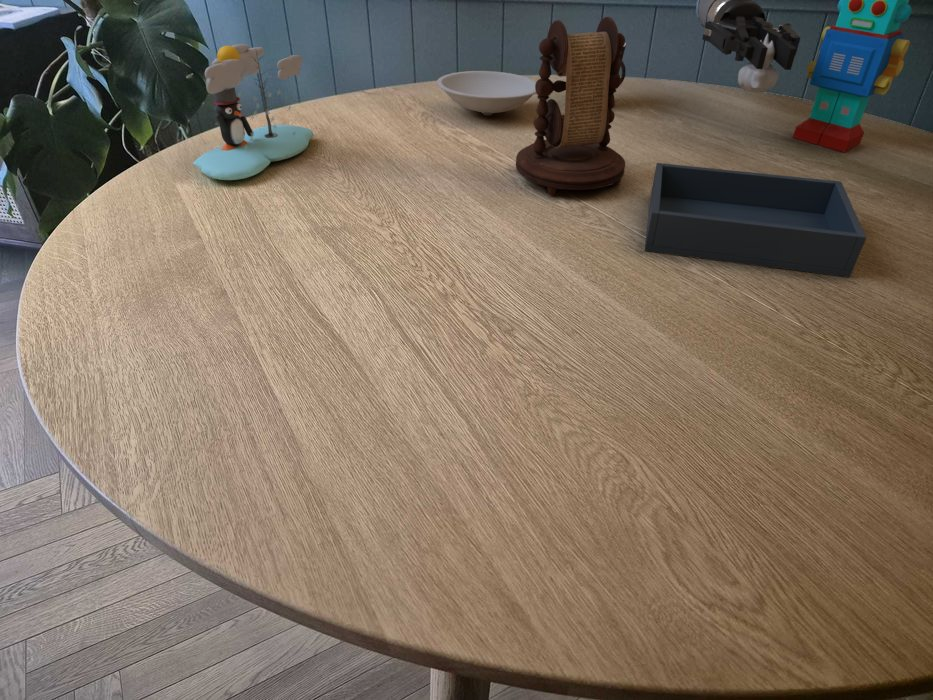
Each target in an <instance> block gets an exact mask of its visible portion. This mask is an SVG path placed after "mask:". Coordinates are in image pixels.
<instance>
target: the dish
mask: <svg viewBox="0 0 933 700" xmlns="http://www.w3.org/2000/svg"><path fill="white" fill-rule="evenodd" d="M536 82H537V80H535V79H532V78H530V77H527V76H523V75H520V74H516V73H510V72H505V71H495V70H494V71H493V70H492V71H491V70H468V71H457V72H452V73H448V74H444V75H442V76H440V77H439V78H438V79H437V81H436V85H437V87H438V88H440V89H441V90H443V91H444V92H445V93H446V95H447V96H448V97H449V98H450V99H451V100H452V101H453V102H454V103H456V104H457V105H459V106H461V107H462V108H464V109H467V110H469V111H473V112H479V113H482V115H484V116H492V115H493V114H499V113H505V112H510V111H512V110H515V109H518V108H520V107H521V106H522V105H524V104H525V103H526V102H527V101H529V100H530V99H531V98H532V97H533V96H534V95H537V93H536V91H535V84H536Z"/></svg>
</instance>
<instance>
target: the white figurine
mask: <svg viewBox="0 0 933 700" xmlns="http://www.w3.org/2000/svg"><path fill="white" fill-rule="evenodd" d="M760 42H761V43H762V40H760ZM763 44H764V45H765V46H766V47H767V48H768V50H767V54H766V57H765V61H764V65H763V69H756V68H755V67H754V66H753V65H752V64H751V63H750V62H748V63H747V64H746V65H744V66H742V67H741V68H740V69H739V70H738V73H737V74H738V75H737V83H738V85H739V87H742V89H743V90H744V91H747V92H749V93H762V92H763V93H764V92H767V91H768V90H769V89H772V88H774V87H775V86H776V84H777V82H778V79H779V72H778V70H777V68H776V67H774V65H772V63H773V61H774V55H775V48H774V44H773V41H771V42H770V43H768V34H767V35H766V37H765V40H764V42H763Z"/></svg>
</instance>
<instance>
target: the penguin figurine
mask: <svg viewBox="0 0 933 700" xmlns="http://www.w3.org/2000/svg"><path fill="white" fill-rule="evenodd" d="M264 54H265V50H264V47H262V46H257V47H249V45H248V44H247V43H237V44H233V45H223V46H222V47H220V48H219V49H218V51H217V55H216V56H217V57H216V58H215V59H214V60H213V61H212V62H211V65H210V66H208V67H206V68H205V70H204V77H205V82H206V83H205V88H206V92H207V93H208V94H211V95H214V98H215V99H214V100H213V104H214V106H213V107H212V109H213V110H214V111H216V112H215V113H216V115H215V119H216V120H215V122H214V123H215V126H217V125H219V130H220V134H221V138H222V140H223V142H224V144H223V146H219V147H216V148H213V149H211V150H208V151H206V152H204V153H203V154H202V155H200V156H199V157H197V158H196V159H195V160H194V161H193V163H192V165H193V166H195V167H196V168H198V169H199V170H201V172H202V173H203V174H204V175H205V176H206V177H209V178H211V179H214V180H220V181H221V180H223V181H237V180H238V181H239V180H244V179H248V178H251V177H253V176H255V175H258V174H259V173H261V172H262V171H264V170H265V169H266V168H267V167H268V166H269V165H270V164H271V162H279V161H283V160H288V159H290V158H292V157H295V156H297V155H299V154H300V153H302V152H303V151H305V150H306V149H307V148H308V146H309V142H310V140H311V139H312V138H313V137H314V131H313V130H312V129H311V128H307V127H304V126H299V125H292V124H275V122H274V121H275V120H276V118H275V116H271V117H270V114H271V113H270V109H269V108H268V103H267V99H269V98H270V99H272V96H273V94H272V92H270V91H268V88H266V85H267V84H266V83H267V82H269V80H268V79H265V80H264V81H263V77H262V75H263V73H261V69H262V68H261V62H260V58H265V56H264ZM302 64H303V58H302V57H301V55H299V54H293V55H289V56H288V57H284V58H282V59H280V60H278V61H277V64H276V68H277V69H279V70H278V71H277V78H278V79H279V80H280V81H283V80H285V79H288V78H290V77H295V76H297V75H299V74H300V73H301V66H302ZM270 70H271V71H272V68H270V69H267V70H266V72H267V71H270ZM262 71H263V72H265V71H264V70H262ZM257 74H259V81H260V84H261V85H258V83H257V82H256V81H257V80H256V78H254V79H253V78H252V80H253V81H254V82H255V83H256V84H255V85H258V88H260V89H261V90H262V92H261V95H262V100H263V105H264V114H265V118H266V122H267V125H264V126H260V127H256V128H254V129H252V127H251V125H250V123H249V121H248V119H247V117H246V116H245V115H244V114H242V113H241V111H242V109H243V105H242V104H240V103H239V101H240V99H241V97H242V92H241V91H239V90H238V91H237V92H236V87H238V86H240V84H241V82H243V81H244V78H246V77H252V76H254V75H257ZM265 89H267V90H266V91H265ZM267 91H268V93H267ZM281 93H282V92H281V88H280V89H277V90H276V94H278V96H281ZM266 94H267V95H266ZM252 99H253V101H254V102H256V104H255V107H256V109H260V108H261V105H260V104H261V103H260V102H259V103H258V101H257V100H259V99H258V97H257V96H256V94H254V97H252ZM287 105H288V106H287V112H290V111H291V110H292V108H291V107H292V105H290V104H287ZM258 114H259V113H258V112H257V110H254V112H253V114H251V116H250V120H254V118H255V117H257V115H258ZM272 123H273V124H272Z"/></svg>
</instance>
